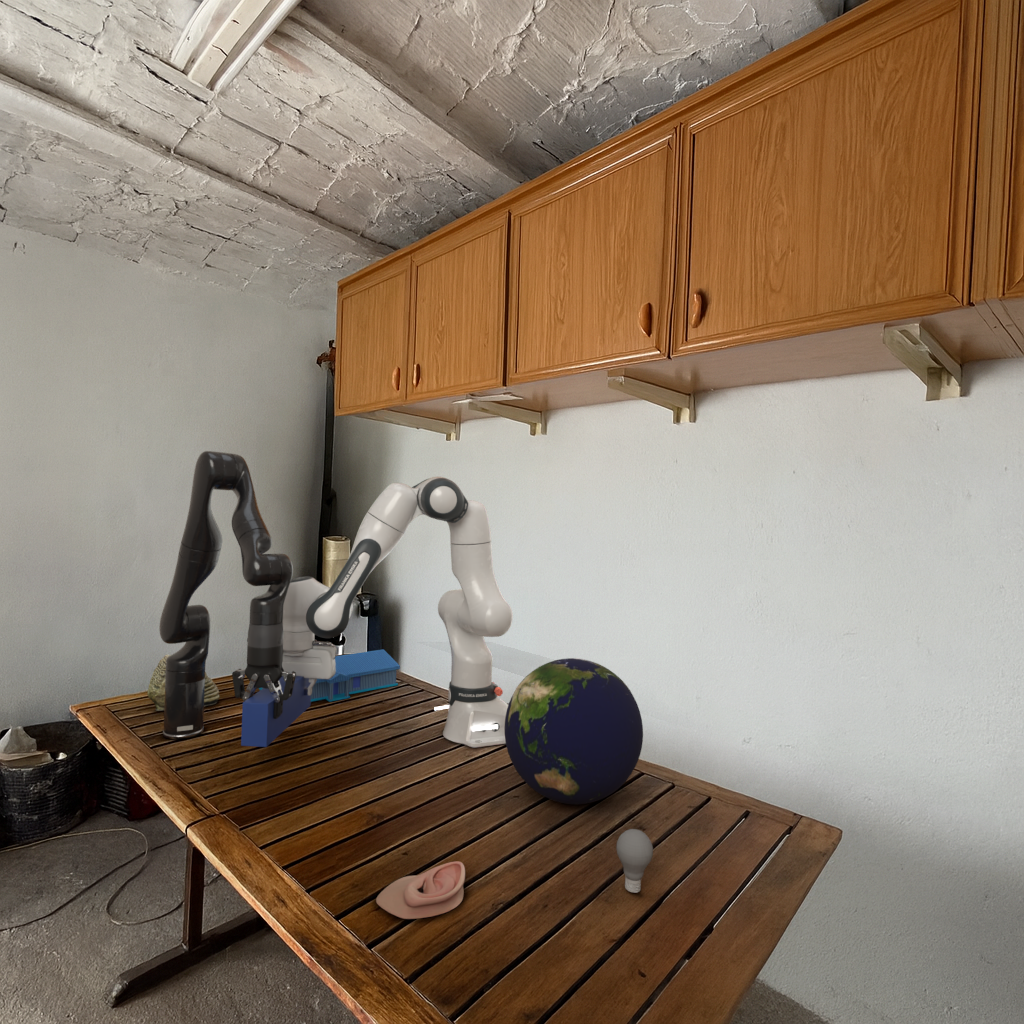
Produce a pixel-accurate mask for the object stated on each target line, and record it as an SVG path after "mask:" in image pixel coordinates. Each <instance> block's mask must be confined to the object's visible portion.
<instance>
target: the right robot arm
mask: <svg viewBox="0 0 1024 1024" xmlns="http://www.w3.org/2000/svg"><path fill="white" fill-rule="evenodd" d="M420 516H426V517H428V518H431V519H433V520H438V521H443V522H446V523H447V525H448V528H449V529H448V530H449V539H450V540H449V541H450V557H451V558H450V559H451V563H450V564H451V571H452V574H453V576H454V577H455V578H456V580H457V581H458V583H459V585H460V588H457V589H456V588H455V589H450V590H447V591H446V592H444V593H443V594H442V595H441V597H440V599H439V600H438V603H437V613H438V616H439V618H440V619H441V621H442V622H443V624H444V627H445V629H446V633H447V637H448V641H449V646H450V654H451V666H450V667H451V668H450V669H451V671H450V673H451V674H450V675H451V676H450V681H449V684H448V694H447V695H448V697H447V700H448V704H447V705H442V706H434V709H433V710H434V711H440V710H446V709H448V710H447V715H446V721H445V724H444V728H443V731H442V736H443V737H444V738H445V739H446V740H448V741H450V742H453V743H456V744H462V745H465V746H467V747H470V748H482V747H489V746H496V745H497V746H498V745H506V742H505V731H504V727H505V717H506V712H507V708H508V705H509V702H505V701H504V700H503V699H502V698H501V696H502V695H503V694H504V690H503V689H502V687H500V686H499V685H498V684H497V683H495V682H494V681H492V680H493V678H492V677H493V654H492V651H491V650H490V648H489V647H488V645H487V643H486V640H485V638H498V637H502V636H503V635H505V634H507V632H508V631H509V630H510V628H511V627H512V624H513V619H514V612H513V609H512V607H511V605H510V604H509V602H508V601H506V599H505V598H504V596H503V594H502V591H501V589H500V586H499V584H498V581H497V578H496V575H495V570H494V560H493V545H492V532H491V531H492V529H491V525H490V524H491V523H490V519H489V513H488V511H487V508H486V506H485V504H483V503H482V502H480V501H478V500H477V501H476V500H467V498H466V496H465V495H464V493H463V491H462V490H461V488H460V486H459V485H458V484H457V483H456V482H454V481H453V480H451V479H449V478H446V477H444V476H432V477H429V478H426V479H423V480H422V481H420V482H419V483H417V484H415V485H413V486H410V485H408V484H405V483H402V482H392V483H390V484H388V485H387V486H386V487H385V488H384V489H383V490H382V491H381V493H380V494H379V495H378V496H377V497H376V499H375V500H374V501H373V503H372V504H371V506H370V508H369V509H368V510H367V512H366V514H365V515H364V517H363V519H362V521H361V523H360V525H359V527H358V530H357V532H356V536H355V537H354V542H353V545H352V548H351V551H350V554H349V556H348V558H347V560H346V562H345V564H344V565H343V567H342V569H341V571H340V572H339V574H338V575H337V577H336V578H335V579H334V581H333V583H332V585H331V586H327V585H326V584H323V583H321V582H320V581H318V580H317V579H316V578H314V577H313V576H309V575H307V576H305V575H304V576H298V577H294V578H292V579H291V582H290V585H289V588H288V591H287V595H286V598H285V601H284V605H283V631H284V636H283V662H282V667H283V669H284V671H286V672H293V671H294V672H296V676H304V678H309V682H310V683H311V684H310V685H309V687H306V688H305V689H304V692H305V693H304V695H308V696H310V695H311V694H312V687H313V686H314V684H315V683H316V681H317V679H330V678H332V677H333V676H334V675H335V673H336V663H335V657H336V656H337V647H336V645H335V644H333V643H332V642H330V641H319V640H318V641H317V640H315V638H316V637H315V636H317V637H319V638H321V639H322V638H323V639H333V638H336V637H338V636H340V635H341V634H342V633H344V631H345V630H346V629H347V627H348V625H349V621H350V618H351V617H352V615H353V611H354V603H353V602H354V600H355V598H356V597H357V595H358V593H360V591H361V589H362V587H363V585H364V584H365V582H366V580H367V579H368V577H369V576H370V574H371V573H372V571H373V570H374V569H375V568H376V567H377V566H378V565H379V564H380V563H381V562H382V561H383V560H384V559H386V557H387V556H389V555H390V554H391V552H392V551H393V550H394V549H395V548H396V547H397V545H399V543H400V542H401V540H402V538H403V537H404V536H405V533H407V530H408V529H409V527H410V525H411V523H412V522H413V521H414V520H415V519H416V518H418V517H420Z"/></svg>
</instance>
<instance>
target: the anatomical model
mask: <svg viewBox="0 0 1024 1024" xmlns="http://www.w3.org/2000/svg"><path fill="white" fill-rule="evenodd" d="M465 881H466V868H465V864H464V863H463V862H461V861H460V860H459V861H456V860H455V861H449V862H446V863H442V864H440V865H437V866H434V867H433V868H430V869H428V870H426V871H424V872H421V873H420V874H418V875H407V876H404V877H400V878H398V879H396V880H394V881H393V882H391V883H390V884H389V885H388V886H386V887H384V889H383V890H381V892H380V893H379V894H378V895H377V897H376V899H375V902H376V904H377V905H378V906H379V907H380V908H381V909H383V910H384V911H386V912H387V913H389V914H391V915H393V916H395V917H398V918H400V919H404V920H415V919H423V918H424V919H425V918H430V917H431V918H432V917H435V916H439V915H443V914H445V913H448V912H451V911H452V910H454V909H455V908H457V907H458V906H460V904H461V903H462V901H463V899H464V896H465V894H464V893H465V892H464V884H465Z"/></svg>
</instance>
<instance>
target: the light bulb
mask: <svg viewBox="0 0 1024 1024" xmlns="http://www.w3.org/2000/svg"><path fill="white" fill-rule="evenodd" d="M615 849H616V854H617V857H618V859H619V861H620V863H621V865H622V867H623V873H624V874H623V875H624V876H625V878H624V888H625V890H627V891H628V892H630V893H634V894H635V893H639V892H640V891H641V889H642V887H641V886H642V879H643V877H644V875H645V871H646V868H647V867H648V866H649V864H650V863H651V861H652V859H653V855H654V847H653V843H652V841H651V838H649V836H648V835H647V834H646V833H645V832H643V831H642V830H641V829H636V828H629V829H627V830H625V831H623V832H622V833H621V834H620V835H619V837H618V839H617V841H616V847H615Z"/></svg>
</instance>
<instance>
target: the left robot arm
mask: <svg viewBox="0 0 1024 1024" xmlns="http://www.w3.org/2000/svg"><path fill="white" fill-rule="evenodd" d="M192 478H193V479H192V484H191V492H190V493H191V494H190V500H189V507H188V512H187V517H186V521H185V526H184V530H183V534H182V536H181V540H180V544H179V545H180V546H179V550H178V555H177V560H176V564H175V569H174V575H173V578H172V581H171V585H170V588H169V591H168V594H167V596H166V600H165V604H164V606H163V608H162V612H161V615H160V618H159V625H158V626H159V629H158V631H159V636H160V638H161V641H163V642H164V644H169V645H174V644H175V645H177V644H183V643H184V644H183V646H182V647H181V648H180V649H178V650H177V651H176V652H174V653H172V654H169V655H170V656H169V657H168V658H167V660H166V674H165V705H164V710H163V730H162V737H164V738H166V739H169V740H185V739H190V738H191V739H192V738H194V737H197V736H199V735H202V734H203V732H204V730H205V729H204V727H205V725H204V722H205V721H204V718H205V706H204V693H205V672H206V664H207V663H206V662H207V658H208V655H209V648H210V647H209V645H210V635H211V616H210V613H209V610H208V608H207V607H206V606H205V605H203V604H190V605H189V603H190V601H191V599H192V597H193V596H194V593H195V592H196V591H197V590H198V588H200V586H201V585H202V584H203V583H204V582H205V581H206V580H207V579H208V577H209V576H211V574H212V573H213V572H214V570H215V569H216V567H217V566H218V563H219V559H220V555H221V550H222V547H223V546H222V545H223V535H222V533H221V529H220V527H219V525H218V523H217V521H216V519H215V516H214V513H213V511H212V495H213V491H214V490H217V491H232V492H233V493H234V496H235V497H236V498H237V501H236V505H235V507H234V511H233V513H232V516H231V528H232V529H231V530H232V532H233V535H234V537H235V539H236V542H237V544H238V546H239V548H240V555H241V573H242V577H243V579H244V581H246V583H247V584H249V585H250V586H253V587H263V586H264V587H265V586H269V587H268V589H267V590H266V592H264V593H262V594H260V595H256V596H254V597H253V598H251V600H250V604H249V625H248V629H247V630H248V631H247V638H246V643H247V644H246V645H247V648H246V650H247V651H246V668H243V669H242V668H237V669H236V670H234V671H232V673H231V675H232V683H233V684H232V685H233V691H234V697H235V698H236V699H242V701H243V702H244V701H246V700H247V699H249V698H250V697H252V696H253V695H254V694H255V692H256V690H257V689H259V688H265V689H269V691H270V693H271V694H272V695H273V698H274V700H275V702H274V715H273V718H274V719H277V718H279V717H280V715H281V714H282V712H283V701H284V700H287V699H288V698H290V697H291V696H292V692H293V687H294V683H295V678H296V672H294V671H293V672H286V671H284V669H283V667H282V662H283V636H284V631H283V605H284V601H285V598H286V595H287V591H288V588H289V585H290V582H291V579H293V575H294V566H293V562H292V560H291V558H290V557H289V556H288V555H287V554H285V553H267V552H268V551H269V550H270V549H271V548H272V546H273V539H272V536H271V534H270V531H269V530H268V527H267V525H266V523H265V521H264V518H263V517H262V514H261V511H260V507H259V505H258V501H257V496H256V492H255V488H254V484H253V480H252V475H251V472H250V469H249V466H248V463H247V461H246V459H245V458H244V457H243V456H241V455H239V454H236V453H230V452H222V451H215V450H214V451H213V450H205V451H203V452H201V453H200V454H199V456H198V458H197V459H196V462H195V466H194V471H193V477H192ZM282 676H283V677H284V681H285V682H286V683H285V688H284V693H283V692H282V690H281V685H280V682H279V679H280V678H281V677H282ZM245 677H246V678H247V679H248V680H249V681H248V685H247V686H246V688H245V681H244V679H245Z"/></svg>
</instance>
